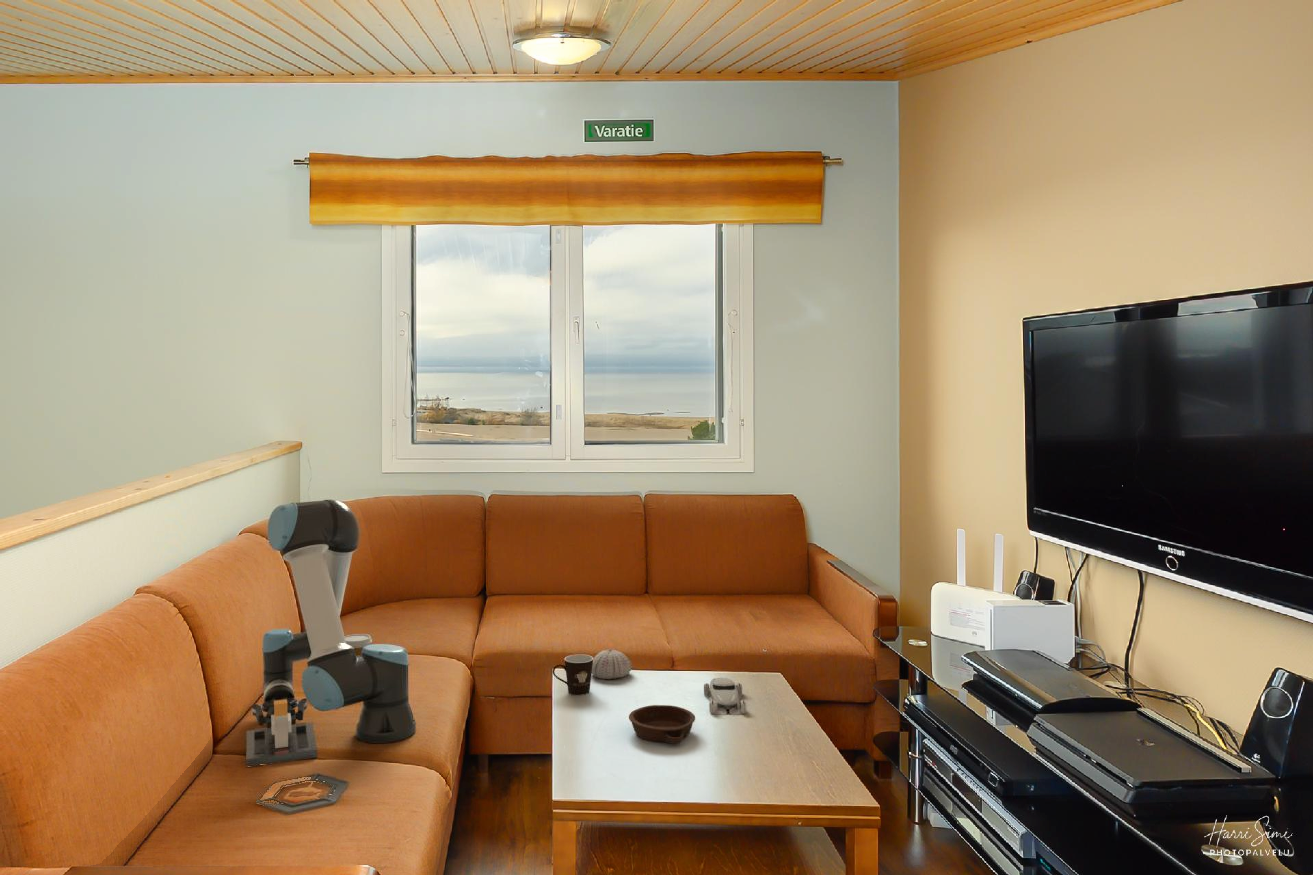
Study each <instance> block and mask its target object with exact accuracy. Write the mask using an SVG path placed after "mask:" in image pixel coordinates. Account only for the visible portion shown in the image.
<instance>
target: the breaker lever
mask: <svg viewBox="0 0 1313 875" xmlns="http://www.w3.org/2000/svg"><path fill="white" fill-rule="evenodd" d="M274 718H275V748H281V747H288V712H287V699H285V700H277V701H274Z"/></svg>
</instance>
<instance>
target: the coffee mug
mask: <svg viewBox="0 0 1313 875" xmlns="http://www.w3.org/2000/svg"><path fill="white" fill-rule="evenodd" d="M593 658H594V657H593V656H591V655H589V654H572V655H567V656H566V657H564V659H563V660H564V664H562V663H561V664H555V666H554V667H553V668H552V674H553V676H554V677H555V678H556V679H557V680H559V681H561V682H563V683H564V684H566V686H567V692H568V694H570V693H571V694H570V695H572V696H573V695H574V696H582V694H584V695H587V694H589V693H590V692H591V690H590V689H591V681H592V675H593V674H592V665H593ZM559 667H562V668H563V670H564V671H565V675H566V676H565V677H566V680H564V679H563V678H560V677H559V676H557V675H556V673H555V671H556V669H557V668H559ZM589 691H590V692H589ZM586 693H587V694H586Z"/></svg>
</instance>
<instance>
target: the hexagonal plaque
mask: <svg viewBox="0 0 1313 875" xmlns="http://www.w3.org/2000/svg"><path fill="white" fill-rule="evenodd" d="M302 777H311V779H310V780H305V781H316V782H319V783H322V784H321V785H323V784H325V785H324V786H326V785H328V786H327V787H330V786H332V787H330V789H329V790H328V792H327V793H326V795H325V796H324V797H319V798H320V799H312V800H307V801H303V802H298V803H290V802H287V801H283V800H277V799H278V798H276V797H275V795H276V794H277V793H278V792H279V791H280V790H281V788H282V787H283V786H286V785H292V784H299V783H302V782H305V781H300V782H295V783H291V784H286V785H282V786H281V787H280V789H279V790H278V791H277V792H276V793H275V794H274V796H273V797H272V798H268V799H264V800H260V799H261V798H262V797H263V795H264V794H265V793H266V792H267V790H269V788H270V787H271V786H272V785H273V784H275V783H277V782H281V781H287V780H292V779H298V778H302ZM304 779H305V778H304ZM307 779H308V778H307ZM316 779H318V780H316ZM323 781H325V782H323ZM316 782H315V783H316ZM319 783H318V784H319ZM348 784H349V785H350V782H349V781H348V780H344V779H341V778H337V777H333V776H330V775H327V774H323V773H319V772H316V773H312V774H307V775H302V776H298V777H293V778H289V779H283V780H278V781H273V782H272V783H271V784H270V785H269V786H268V787H267V788H266V790H265V791H264V792H263V793H262V794H261V796H259V798H257V800H256V801H255V804H256V803H259V804H260V805H264V806H265V807H264V808H266V807H269V808H268V809H270V808H271V809H270V810H273V809H274V810H273V811H276V810H277V811H276V812H279V813H282V812H284V813H283V814H285V813H286V814H285V815H290V814H295V813H294V812H296V813H300V812H304V811H303V810H305V811H309V810H313V809H316V808H317V809H319V808H321V807H326V806H330V805H336V804H337V803H338V801H339V800H338V799H340V798H341V797H342V795H343V794H342V793H344V792H345V791H346V789H347V788H348V786H349V785H348ZM334 790H335V791H334ZM344 790H345V791H344ZM281 791H282V790H281ZM281 791H280V792H281ZM329 794H332V795H329ZM341 794H342V795H341ZM340 796H341V797H340ZM274 797H275V799H274ZM329 797H330V798H329ZM339 797H340V798H339ZM269 800H270V801H271V800H274V801H277V802H279V804H277V803H276V802H275V803H274V804H273V802H270V803H272V804H269V802H264V803H261V802H263V801H269ZM265 803H268V804H265ZM281 803H283V804H281ZM335 803H336V804H335ZM260 805H259V806H260ZM308 809H309V810H308ZM299 811H300V812H299Z"/></svg>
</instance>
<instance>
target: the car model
mask: <svg viewBox="0 0 1313 875" xmlns="http://www.w3.org/2000/svg"><path fill="white" fill-rule="evenodd" d="M703 695H704V696H705V697H706V698H707V700H709V706H708V707H709V713H710V715H716V716H717V715H718V716H726V715H728V714H729V715H731V716H739V715H745V714H747V701H746V700H741V698H742V696H743V685H742V684H741V683H735V682H734V681H733V680H732V679H730V678H727V677H716V678H712V679H711V680H710V681H709V683H704V684H703Z"/></svg>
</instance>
